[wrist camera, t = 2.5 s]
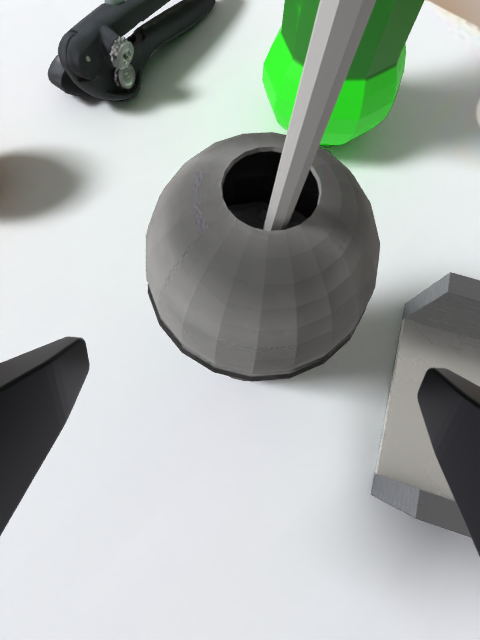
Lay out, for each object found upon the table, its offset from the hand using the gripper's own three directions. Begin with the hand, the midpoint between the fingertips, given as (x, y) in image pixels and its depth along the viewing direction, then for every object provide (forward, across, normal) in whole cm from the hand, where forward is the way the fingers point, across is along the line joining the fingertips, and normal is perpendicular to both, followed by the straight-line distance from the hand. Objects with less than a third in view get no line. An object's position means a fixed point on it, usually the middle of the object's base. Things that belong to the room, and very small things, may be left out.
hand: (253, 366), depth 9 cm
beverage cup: (+11, 0, +7) cm, 13 cm away
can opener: (+30, +11, -11) cm, 34 cm away
